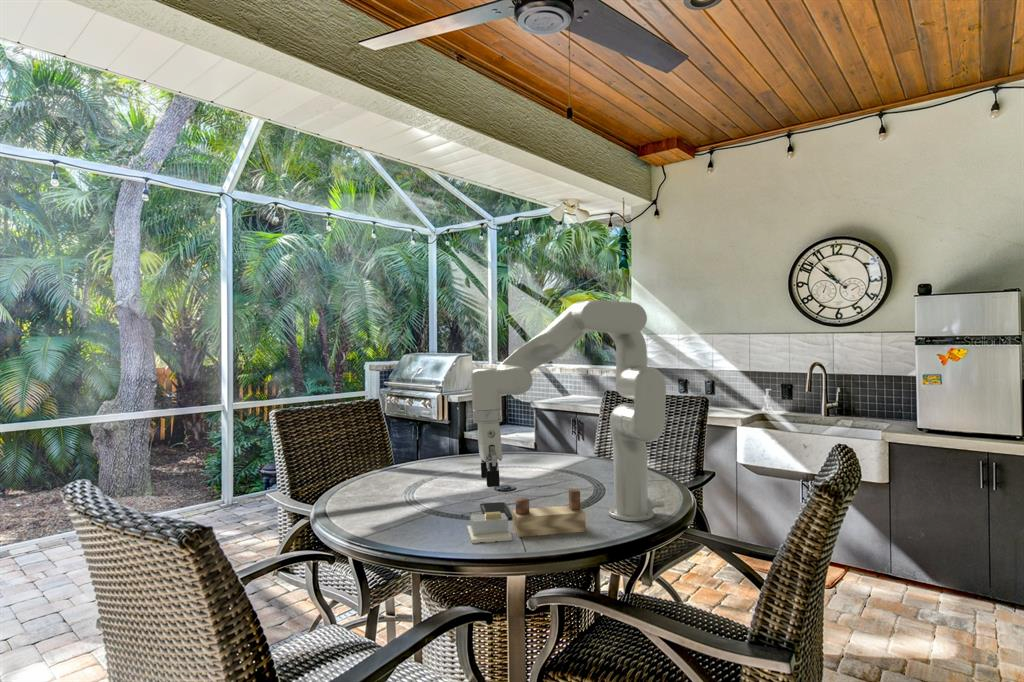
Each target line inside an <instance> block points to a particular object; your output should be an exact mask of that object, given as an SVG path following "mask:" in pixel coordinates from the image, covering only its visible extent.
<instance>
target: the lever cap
mask: <svg viewBox="0 0 1024 682" xmlns="http://www.w3.org/2000/svg"><path fill="white" fill-rule="evenodd" d="M469 518H470V519H469V520H470V525H471V531H472V534H473V536H475V535H488V534H500V533H508V531H509V520H508V518H507V517H506V515H505V513H500V511H499V512H485V514H473V515H472V514H471V515H470V517H469ZM470 525H469V526H470Z"/></svg>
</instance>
